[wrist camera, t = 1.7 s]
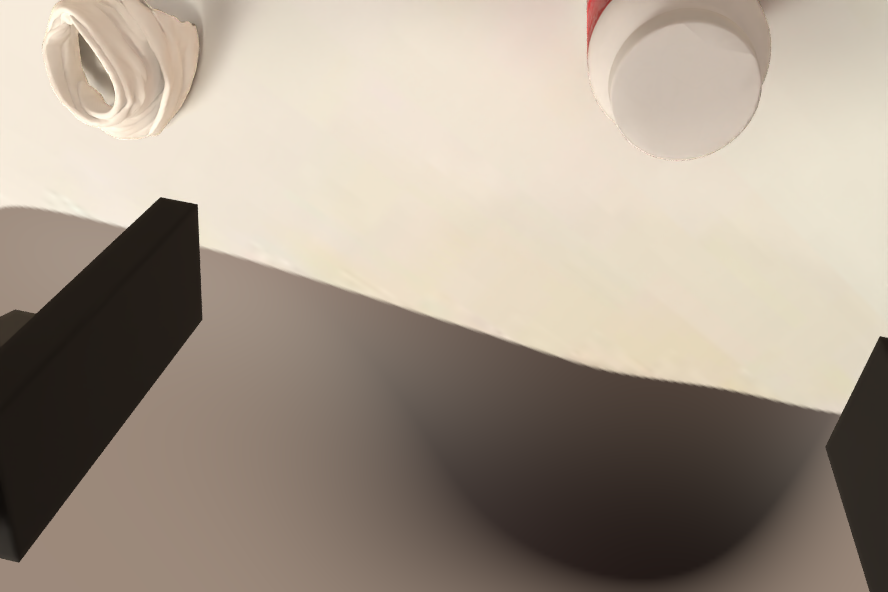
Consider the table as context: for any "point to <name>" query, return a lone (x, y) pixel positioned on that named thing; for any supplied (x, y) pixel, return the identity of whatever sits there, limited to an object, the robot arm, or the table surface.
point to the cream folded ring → (121, 63)
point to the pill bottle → (678, 70)
